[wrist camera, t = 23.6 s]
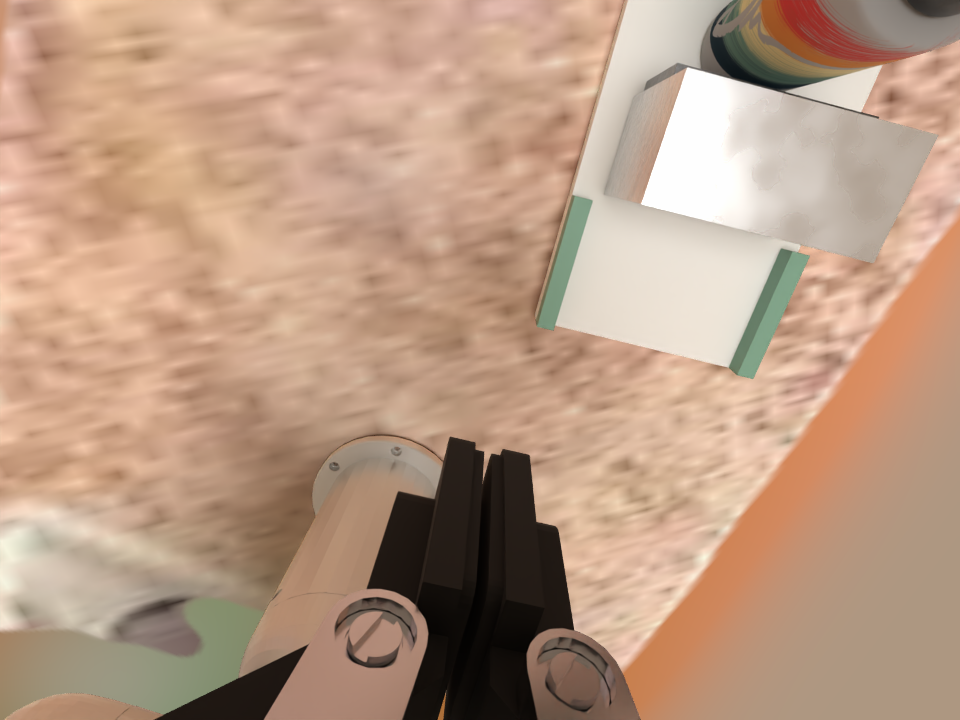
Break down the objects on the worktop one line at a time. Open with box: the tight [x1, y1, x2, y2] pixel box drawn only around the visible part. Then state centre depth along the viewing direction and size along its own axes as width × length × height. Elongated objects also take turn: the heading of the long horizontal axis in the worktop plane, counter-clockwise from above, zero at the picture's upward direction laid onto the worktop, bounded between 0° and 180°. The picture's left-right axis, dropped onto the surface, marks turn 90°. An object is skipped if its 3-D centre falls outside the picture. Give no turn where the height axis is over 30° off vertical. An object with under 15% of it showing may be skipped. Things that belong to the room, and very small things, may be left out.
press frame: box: [535, 0, 882, 379], centre depth 32 cm, size 26×16×6 cm, turn 166°
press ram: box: [603, 63, 938, 263], centre depth 29 cm, size 7×12×10 cm, turn 76°
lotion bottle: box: [701, 0, 960, 92], centre depth 22 cm, size 6×6×20 cm
